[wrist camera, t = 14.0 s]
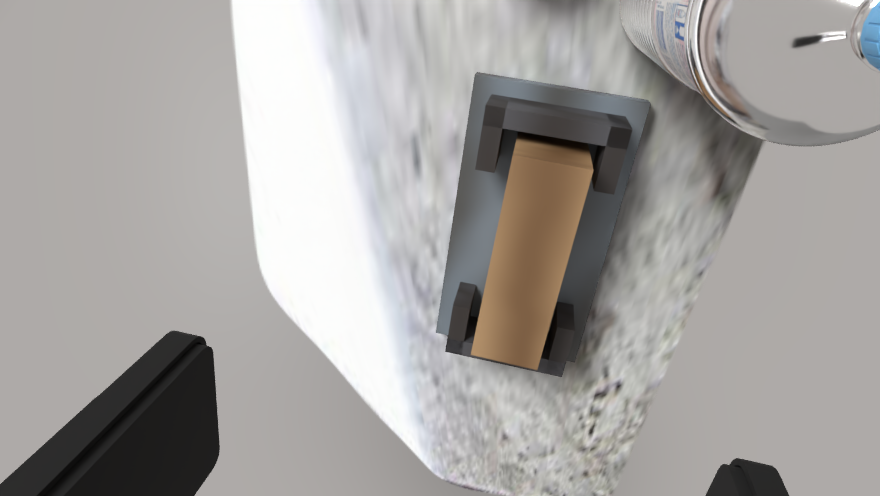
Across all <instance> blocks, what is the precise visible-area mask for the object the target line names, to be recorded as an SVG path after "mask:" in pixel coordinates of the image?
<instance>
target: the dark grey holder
mask: <svg viewBox="0 0 880 496" xmlns="http://www.w3.org/2000/svg"><path fill="white" fill-rule="evenodd" d="M650 104H651V103H650V102H649V101H648V100H644V99H638V98H632V97H626V96H620V95H614V94H608V93H601V92H595V91H589V90H583V89H577V88H571V87H565V86H559V85H552V84H546V83H540V82H534V81H528V80H522V79H516V78H509V77H503V76H497V75H491V74H485V73H479V72H477V73H476V74H475V77H474V84H473V91H472V97H471V104H470V111H469V117H468V124H467V130H466V137H465V144H464V150H463V157H462V163H461V170H460V177H459V183H458V190H457V197H456V203H455V210H454V216H453V223H452V230H451V236H450V243H449V250H448V256H447V263H446V269H445V276H444V283H443V289H442V296H441V302H440V309H439V316H438V322H437V329H436V333H441V334H445V335H448V339H447V345H446V351H445V352H450V353H454V354H459V355H463V356H468V357H472V358H477V359H482V360H486V361H491V362H495V363H500V364H504V365H509V366H514V367H518V368H523V369H527V370H532V371H536V372H541V373H546V374H550V375H555V376H559V377H562V375H563V371H564V368H565V364H566V361H571V362H575V359H576V355H577V352H578V349H579V345H580V342H581V339H582V335H583V332H584V328H585V325H586V322H587V318H588V315H589V311H590V308H591V305H592V301H593V298H594V294H595V291H596V288H597V284H598V281H599V277H600V274H601V271H602V267H603V264H604V260H605V257H606V254H607V250H608V247H609V244H610V240H611V237H612V233H613V230H614V227H615V223H616V220H617V216H618V213H619V210H620V206H621V203H622V199H623V196H624V193H625V189H626V186H627V182H628V179H629V176H630V172H631V169H632V165H633V162H634V159H635V155H636V152H637V149H638V145H639V142H640V138H641V135H642V132H643V128H644V125H645V121H646V118H647V115H648V111H649V108H650ZM518 131H520V132H526V133H532V134H538V135H543V136H549V137H555V138H561V139H567V140H572V141H578V142H584V143H588V146H589V151H590V155H591V160H592V165H593V170H594V171H593V174H592V178H591V181H590V185H589V188H588V192H587V195H586V199H585V203H584V206H583V210H582V213H581V217H580V220H579V224H578V227H577V231H576V234H575V238H574V242H573V245H572V249H571V252H570V256H569V259H568V263H567V266H566V270H565V273H564V277H563V281H562V284H561V288H560V291H559V295H558V298H557V302H556V305H555V309H554V312H553V316H552V320H551V323H550V327H549V330H548V334H547V337H546V341H545V344H544V348H543V351H542V355H541V359H540V362H539V366H538V369H537V370H534V369H530V368H526V367H521V366H517V365H513V364H508V363H504V362H500V361H495V360H491V359H487V358H483V357H478V356H474V355H471V351H472V346H473V341H474V336H475V332H476V327H477V322H478V317H479V313H480V308H481V303H482V298H483V294H484V289H485V284H486V279H487V275H488V270H489V265H490V260H491V256H492V251H493V246H494V241H495V237H496V232H497V227H498V222H499V218H500V213H501V208H502V203H503V199H504V194H505V189H506V185H507V180H508V175H509V170H510V166H511V161H512V156H513V152H514V148H515V143H516V139H517V135H518Z"/></svg>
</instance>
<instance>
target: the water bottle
mask: <svg viewBox="0 0 880 496" xmlns="http://www.w3.org/2000/svg"><path fill="white" fill-rule="evenodd" d="M620 16H621V21H622V24H623V27H624V30H625V32H626V34H627V36H628V37H629V39H630V40H631V42H632V43H633V44H634V45H635V46H636V47H637V48H638V49H639V50H640V51H642V52H643V53H644V54H645V55H646V56H648V57H649V58H650V59H651V60H653V61H654V62H655V63H656V64H658V65H659V66H660V67H661V68H663V69H664V70H665V71H666V72H667V73H669V74H670V75H671V76H672V77H674V78H675V79H676V80H677V81H679V82H680V83H682V84H683V85H685V86H687V87H688V88H691V89H693V90H695V91H697V92H698V93H700V94H701V95H702V97H703V98H704V99H705V101H706V102H707V103H708V104H709V105H710V106H711V107H712V108H713V109H714V110H715V111H716V112H717V113H718V114H719V115H720V116H721V117H723V118H724V119H725V120H726V121H727V122H729V123H730V124H732V125H733V126H734V127H736V128H738V129H739V130H741V131H743V132H745V133H747V134H749V135H752V136H754V137H757V138H759V139H762V140H765V141H769V142H773V143H778V144H785V145H792V146H821V145H829V144H836V143H841V142H845V141H849V140H853V139H856V138H859V137H862V136H865V135H868V134H870V133H873V132H875V131H878V130H880V0H620Z"/></svg>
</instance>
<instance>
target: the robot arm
mask: <svg viewBox="0 0 880 496" xmlns="http://www.w3.org/2000/svg"><path fill="white" fill-rule="evenodd" d="M219 447H220V446H219V432H218V417H217V403H216V387H215V372H214V358H213V350H212V348H211V347H209V346H207V345H206V341H205V339H204V338H203V337H200V336H196V335H192V334H187V333H182V332H178V331H171V332H169V333H168V334H166V335H165V336H164V337H163V338H162V339H161V340H159V342H157V343H156V344H155V345H154V346H153V347H152V348H151V349H150V350H148V351H147V352H146V353H145V354H144V355H143V356H142V357H141V358H140V359H139V360H138V361H137V362H135V363H134V364H133V365H132V366H131V367H130V368H129V369H128V370H126V371H125V372H124V373H123V374H122V375H121V376H120V377H119V378H118V379H117V380H115V381H114V383H112V384H111V385H110V386H109V387H108V388H107V389H106V390H104V391H103V392H102V393H101V394H100V395H99V396H97V397H96V398H95V399H94V400H92V401H91V402H90V403H89V404H88V405H87V406H86V407H85V408H84V409H83V410H82V411H80V412H79V413H78V414H77V415H76V416H75V417H74V418H73V419H72V420H70V421H69V422H68V423H67V424H66V425H65V426H64V427H63V428H62V429H61V430H59V431H58V432H57V433H56V434H55V435H54V436H53V437H52V438H51V439H50V440H48V441H47V442H46V443H45V444H44V445H43V446H42V447H41V448H40V449H39V450H37V451H36V452H35V453H34V454H33V455H32V456H31V457H30V458H29V459H27V460H26V461H25V462H24V463H23V464H22V465H21V466H20V467H19V468H18V469H17V470H15V471H14V473H12V474H11V475H10V476H9V477H8V478H7V479H5V480H4V481H3V482H2V483H1V484H0V496H194V495H195V494H196V492H197V491H198V489H199V488H200V487H201V485H202V484H203V482H204V481H205V480H206V478H207V477H208V475H209V474H210V472H211V471H212V469H213V468H214V466H215V464H216V461H217V459H218V456H219ZM706 496H789V495H788V492H787V490H786V488H785V486H784V483H783V481H782V479H781V477H780V475H779V473H778V471H777V470H776V469H775V468H774V467H773V466H770V465H766V464H761V463H757V462H752V461H748V460H744V459H738V458H736V459H734V460H733V461H732V462H731V464H730V465H727V464H723V465H721V466H720V468H719V469H718V471H717V473H716V475H715V478H714V479H713V482H712V484H711V486H710V488H709V490H708V492H707V494H706Z"/></svg>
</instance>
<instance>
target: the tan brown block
mask: <svg viewBox="0 0 880 496" xmlns="http://www.w3.org/2000/svg"><path fill="white" fill-rule="evenodd" d="M593 171H594V170H593V165H592V160H591V155H590V151H589V146H588V143H584V142H578V141H572V140H567V139H561V138H555V137H549V136H543V135H538V134H532V133H526V132H520V131H518V135H517V139H516V143H515V148H514V152H513V156H512V161H511V166H510V170H509V175H508V180H507V185H506V189H505V194H504V199H503V203H502V208H501V213H500V218H499V222H498V227H497V232H496V237H495V241H494V246H493V251H492V256H491V260H490V265H489V270H488V275H487V279H486V284H485V289H484V294H483V298H482V303H481V308H480V313H479V317H478V322H477V327H476V332H475V336H474V341H473V346H472V351H471V355H474V356H478V357H483V358H487V359H491V360H495V361H500V362H504V363H508V364H513V365H517V366H521V367H526V368H530V369H534V370H537V369H538V366H539V362H540V359H541V355H542V351H543V348H544V344H545V341H546V337H547V334H548V330H549V327H550V323H551V320H552V316H553V312H554V309H555V305H556V302H557V298H558V295H559V291H560V288H561V284H562V281H563V277H564V273H565V270H566V266H567V263H568V259H569V256H570V252H571V249H572V245H573V242H574V238H575V234H576V231H577V227H578V224H579V220H580V217H581V213H582V210H583V206H584V203H585V199H586V195H587V192H588V188H589V185H590V181H591V178H592V174H593Z"/></svg>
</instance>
